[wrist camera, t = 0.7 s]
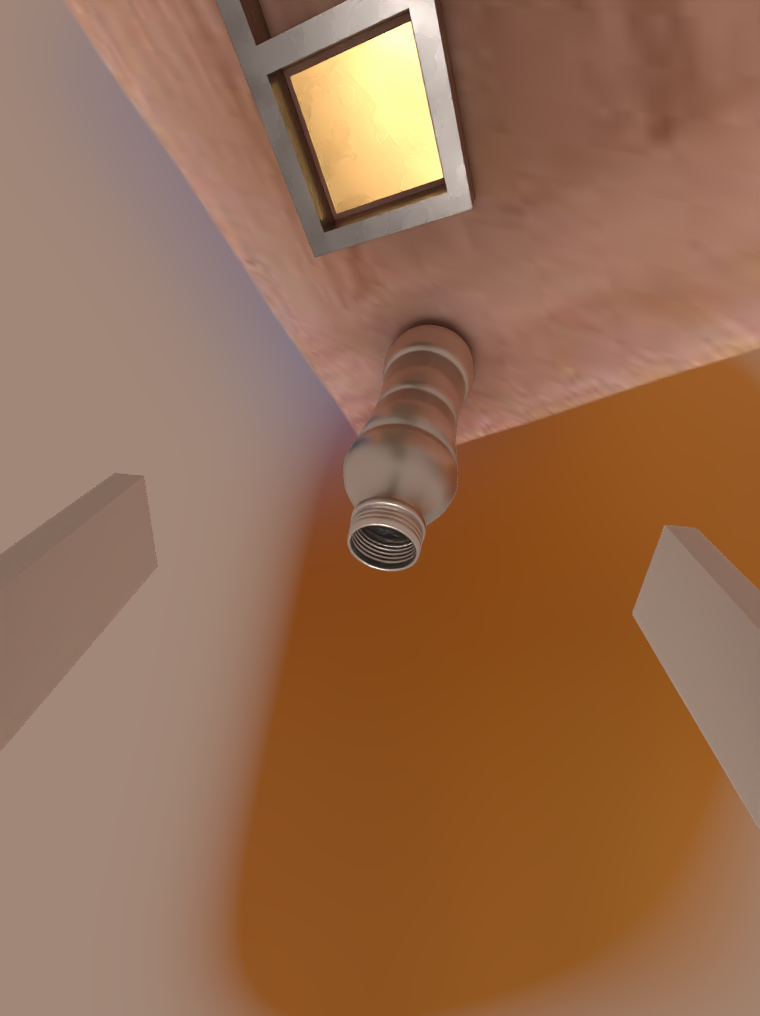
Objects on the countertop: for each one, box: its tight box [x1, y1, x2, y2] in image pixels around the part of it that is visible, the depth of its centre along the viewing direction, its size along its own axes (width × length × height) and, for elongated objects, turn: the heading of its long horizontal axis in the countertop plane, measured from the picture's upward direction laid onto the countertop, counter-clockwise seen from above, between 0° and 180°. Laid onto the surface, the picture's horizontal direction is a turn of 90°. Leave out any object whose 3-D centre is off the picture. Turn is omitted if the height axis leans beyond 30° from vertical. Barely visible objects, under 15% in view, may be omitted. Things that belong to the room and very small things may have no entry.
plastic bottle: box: [343, 325, 475, 571], centre depth 32 cm, size 6×7×20 cm
